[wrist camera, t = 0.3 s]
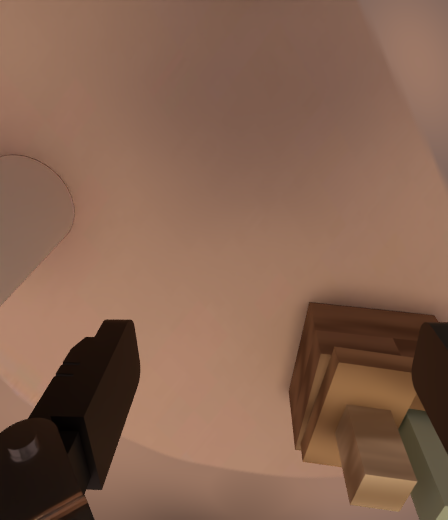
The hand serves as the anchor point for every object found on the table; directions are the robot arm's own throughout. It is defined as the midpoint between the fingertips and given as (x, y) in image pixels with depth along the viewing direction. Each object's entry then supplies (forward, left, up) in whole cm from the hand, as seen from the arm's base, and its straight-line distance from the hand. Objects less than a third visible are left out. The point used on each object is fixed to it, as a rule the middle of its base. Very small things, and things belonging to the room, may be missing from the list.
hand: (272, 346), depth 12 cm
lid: (+15, +11, -12) cm, 22 cm away
